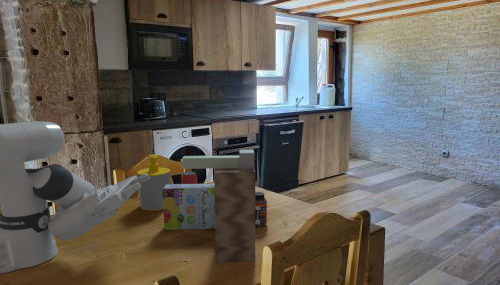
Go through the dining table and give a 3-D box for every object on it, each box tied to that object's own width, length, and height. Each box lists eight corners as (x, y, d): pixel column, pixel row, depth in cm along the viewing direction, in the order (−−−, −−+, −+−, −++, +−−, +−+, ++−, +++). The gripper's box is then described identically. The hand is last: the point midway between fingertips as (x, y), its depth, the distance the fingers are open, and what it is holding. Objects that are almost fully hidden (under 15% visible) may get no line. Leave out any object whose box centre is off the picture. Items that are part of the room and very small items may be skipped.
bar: (182, 169, 99) (181, 153, 98) (184, 165, 104) (184, 150, 103) (254, 168, 100) (254, 152, 99) (253, 164, 105) (253, 149, 104)
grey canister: (143, 213, 138) (140, 159, 135) (135, 203, 150) (132, 154, 146) (176, 207, 145) (174, 156, 141) (166, 198, 156) (164, 151, 152)
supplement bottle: (261, 228, 124) (261, 197, 122) (246, 225, 127) (246, 194, 125) (269, 222, 129) (270, 192, 127) (255, 219, 132) (255, 189, 130)
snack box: (226, 223, 129) (225, 182, 126) (225, 229, 123) (225, 187, 121) (167, 224, 128) (165, 183, 126) (163, 230, 123) (161, 188, 120)
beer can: (194, 202, 151) (193, 175, 149) (179, 201, 152) (178, 174, 150) (199, 198, 157) (199, 171, 155) (185, 197, 158) (184, 170, 156)
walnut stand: (216, 262, 100) (214, 172, 96) (217, 243, 112) (216, 162, 108) (255, 261, 101) (255, 171, 97) (253, 242, 113) (252, 162, 108)
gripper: (81, 207, 92) (127, 180, 91) (108, 185, 112) (146, 163, 111) (95, 227, 93) (140, 201, 92) (120, 201, 113) (157, 179, 112)
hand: (144, 180), depth 102 cm, fingers open, 8 cm apart
